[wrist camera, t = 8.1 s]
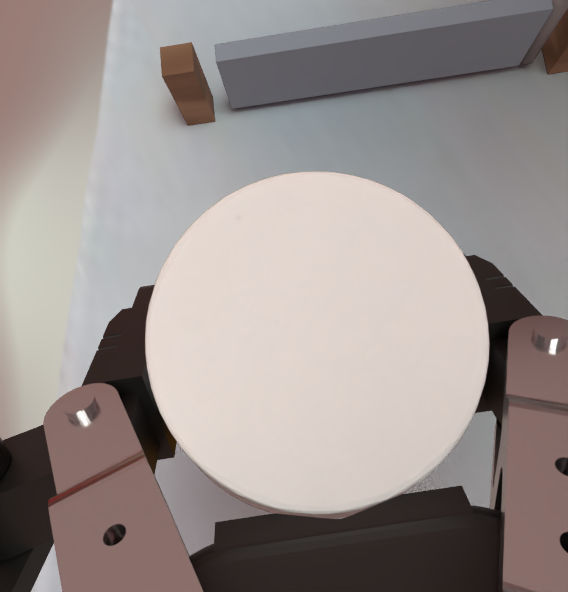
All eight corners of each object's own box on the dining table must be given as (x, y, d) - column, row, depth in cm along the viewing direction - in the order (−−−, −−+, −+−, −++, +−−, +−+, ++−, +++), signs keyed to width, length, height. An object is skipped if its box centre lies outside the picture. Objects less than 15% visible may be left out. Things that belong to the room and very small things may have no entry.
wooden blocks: (185, 98, 35) (114, -49, 23) (614, 32, 33) (775, -164, 21) (188, 127, 34) (116, -6, 22) (622, 63, 32) (792, -120, 21)
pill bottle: (227, 290, 18) (109, 118, 7) (392, 292, 18) (530, 113, 7) (219, 463, 16) (57, 575, 6) (398, 468, 16) (582, 594, 5)
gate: (229, 81, 34) (213, 30, 29) (529, 35, 33) (566, -27, 28) (231, 108, 34) (216, 61, 29) (536, 62, 32) (574, 5, 27)
